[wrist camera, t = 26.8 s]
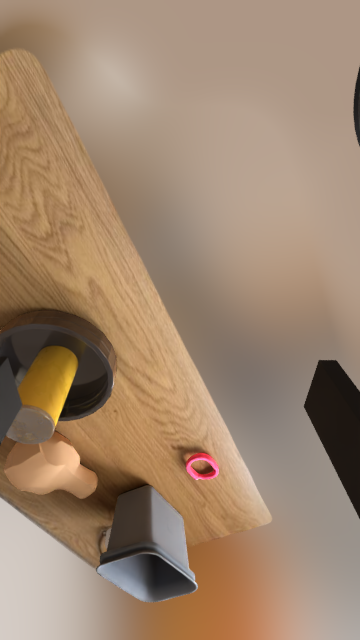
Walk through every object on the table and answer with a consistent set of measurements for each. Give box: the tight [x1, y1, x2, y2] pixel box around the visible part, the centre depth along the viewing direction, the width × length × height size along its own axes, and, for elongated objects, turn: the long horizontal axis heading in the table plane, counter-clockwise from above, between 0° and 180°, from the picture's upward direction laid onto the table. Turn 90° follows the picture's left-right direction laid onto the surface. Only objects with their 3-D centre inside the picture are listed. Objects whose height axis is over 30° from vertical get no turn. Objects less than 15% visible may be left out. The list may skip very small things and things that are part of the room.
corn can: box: [6, 345, 78, 444], centre depth 44 cm, size 6×6×13 cm
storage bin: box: [96, 485, 198, 602], centre depth 66 cm, size 21×16×14 cm
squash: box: [3, 431, 98, 499], centre depth 58 cm, size 11×20×9 cm, turn 31°
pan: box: [0, 310, 117, 421], centre depth 48 cm, size 19×19×4 cm
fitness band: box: [185, 453, 219, 480], centre depth 65 cm, size 8×6×2 cm
